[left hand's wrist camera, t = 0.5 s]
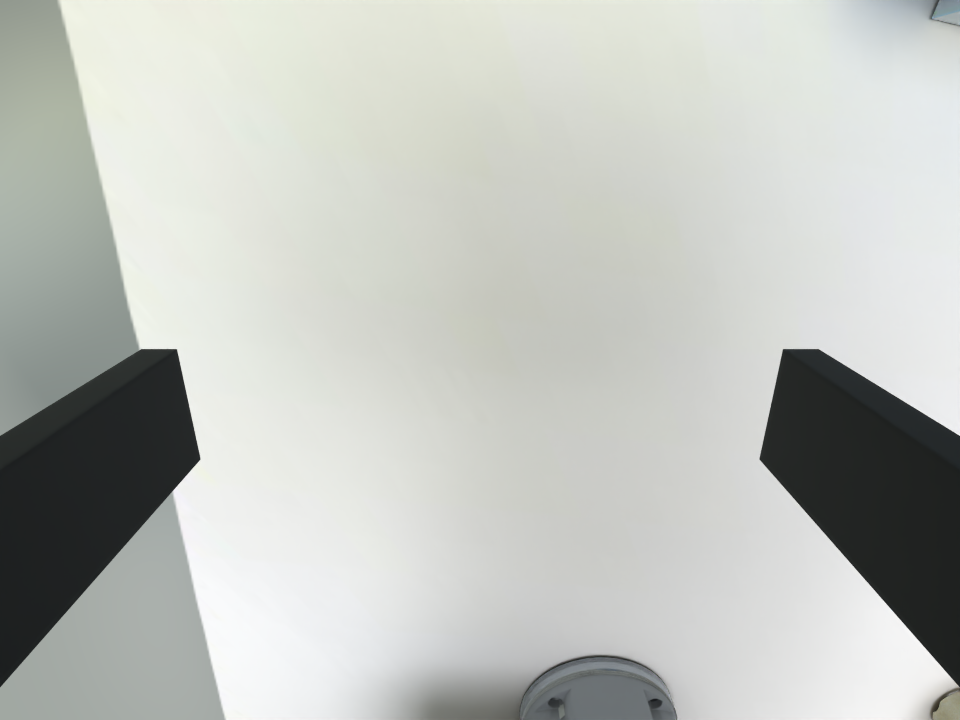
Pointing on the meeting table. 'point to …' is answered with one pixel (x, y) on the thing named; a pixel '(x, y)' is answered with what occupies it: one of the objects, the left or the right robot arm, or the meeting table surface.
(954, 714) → the flower pot
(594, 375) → the meeting table surface
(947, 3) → the logo
